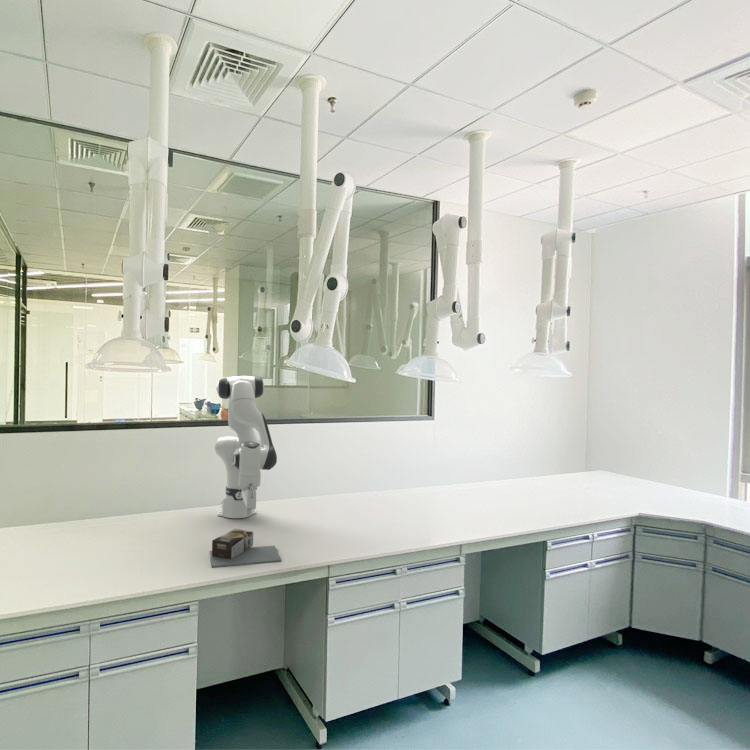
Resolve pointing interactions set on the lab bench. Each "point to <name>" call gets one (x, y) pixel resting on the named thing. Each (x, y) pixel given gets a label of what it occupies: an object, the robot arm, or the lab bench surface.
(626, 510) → the lab bench surface
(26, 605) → the lab bench surface
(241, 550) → the coffee box
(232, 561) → the mat
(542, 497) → the lab bench surface
